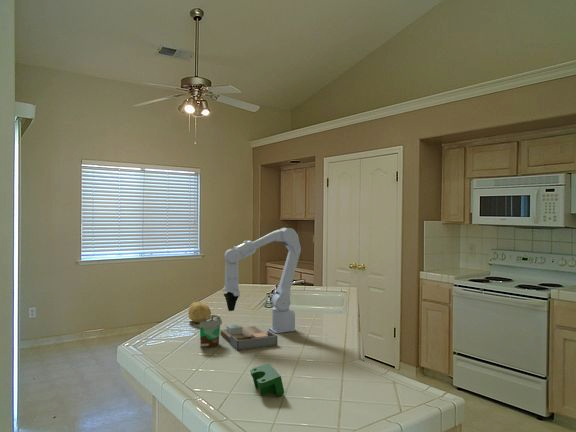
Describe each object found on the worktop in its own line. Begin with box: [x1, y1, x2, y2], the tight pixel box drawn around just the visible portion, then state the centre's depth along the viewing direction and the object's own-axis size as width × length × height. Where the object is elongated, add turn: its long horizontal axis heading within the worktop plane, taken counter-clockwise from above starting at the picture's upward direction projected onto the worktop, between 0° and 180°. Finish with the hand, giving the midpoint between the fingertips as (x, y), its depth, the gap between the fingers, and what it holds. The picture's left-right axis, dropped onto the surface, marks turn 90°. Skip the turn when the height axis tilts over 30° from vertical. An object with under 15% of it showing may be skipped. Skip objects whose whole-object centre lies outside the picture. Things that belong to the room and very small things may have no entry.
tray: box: [229, 330, 278, 351], centre depth 161 cm, size 16×8×4 cm, turn 116°
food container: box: [198, 314, 223, 349], centre depth 160 cm, size 12×6×10 cm, turn 168°
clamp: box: [250, 362, 285, 397], centre depth 119 cm, size 12×6×9 cm, turn 14°
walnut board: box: [219, 325, 267, 344], centre depth 171 cm, size 15×14×2 cm
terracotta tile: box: [251, 332, 268, 339], centre depth 164 cm, size 5×5×2 cm
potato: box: [188, 301, 212, 324], centre depth 194 cm, size 10×14×10 cm
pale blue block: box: [226, 323, 243, 335], centre depth 170 cm, size 5×5×2 cm
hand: (231, 310), depth 176 cm, fingers closed
